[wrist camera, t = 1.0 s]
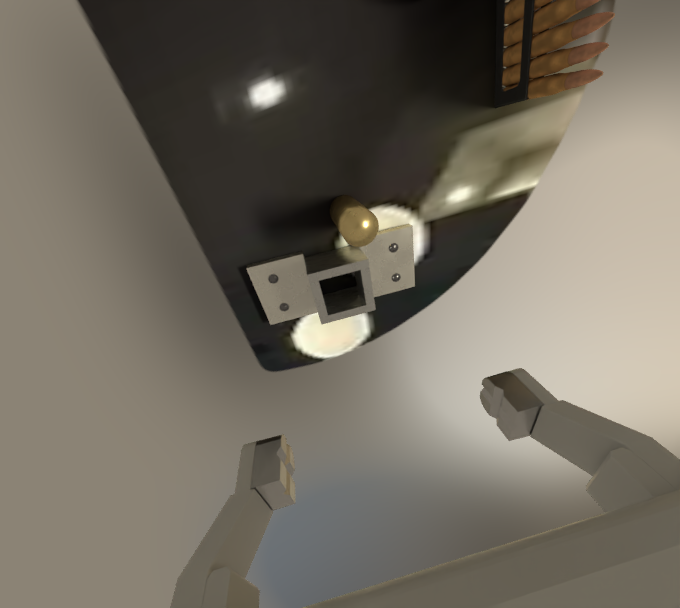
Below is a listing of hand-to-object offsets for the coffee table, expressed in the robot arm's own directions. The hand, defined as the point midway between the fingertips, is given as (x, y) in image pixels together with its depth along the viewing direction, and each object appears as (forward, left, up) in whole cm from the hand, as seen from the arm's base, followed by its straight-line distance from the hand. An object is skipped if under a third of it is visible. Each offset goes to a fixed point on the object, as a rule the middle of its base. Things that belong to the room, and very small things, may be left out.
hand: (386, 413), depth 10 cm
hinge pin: (-1, +4, -30) cm, 30 cm away
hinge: (+8, +1, -30) cm, 31 cm away
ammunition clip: (-14, +25, -30) cm, 42 cm away
